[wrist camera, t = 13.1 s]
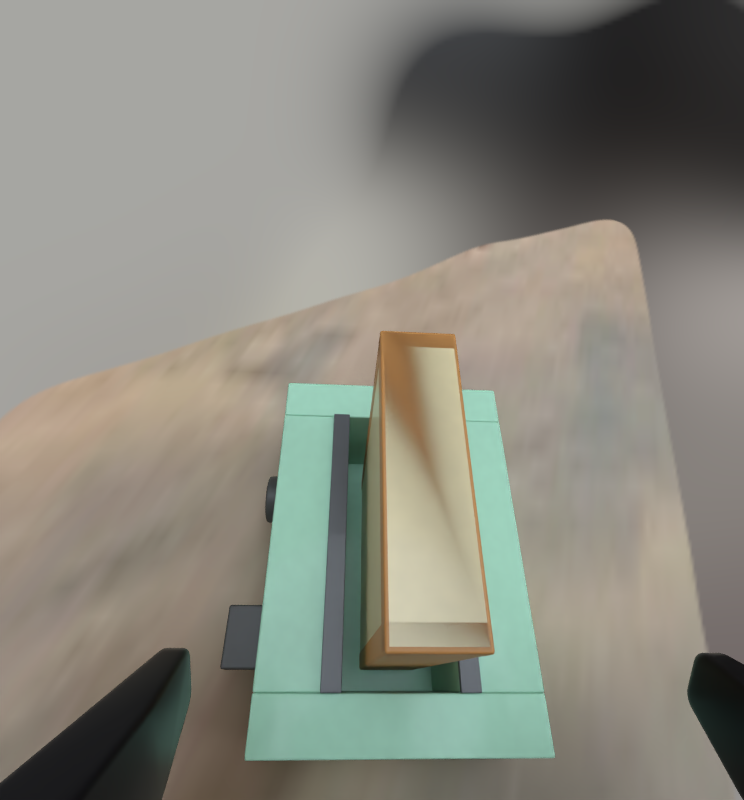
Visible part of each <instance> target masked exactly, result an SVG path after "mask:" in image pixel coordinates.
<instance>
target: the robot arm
mask: <svg viewBox="0 0 744 800" xmlns="http://www.w3.org/2000/svg"><path fill="white" fill-rule="evenodd" d="M687 694H688V700H689V703H690V705H691V707H692V709H693V711H694V713H695V715H696V716H697V718H698V720H699V722H700V724H701V726H702V727H703V729H704V731H705V733H706V735H707V736H708V738H709V740H710V742H711V744H712V745H713V747H714V749H715V751H716V753H717V754H718V756H719V758H720V760H721V762H722V763H723V765H724V767H725V769H726V771H727V772H728V774H729V776H730V778H731V780H732V781H733V783H734V785H735V787H736V789H737V790H738V792H739V794H740V796H741V797H742V799H743V800H744V664H742V663H740V662H738V661H736V660H734V659H733V658H731V657H729V656H727V655H725V654H721V653H700V654H698V655H697V656H696V657H695V660H694V664H693V668H692V672H691V676H690V680H689V685H688V689H687ZM190 697H191V671H190V654H189V651H188V650H187V649H185V648H165V649H162V650H161V651H159V652H158V653H157V654H156V655H154V656H153V657H152V658H151V659H149V660H148V661H147V662H146V663H145V664H143V665H142V666H141V667H140V668H139V669H137V670H136V671H135V672H134V673H133V674H131V675H130V676H129V677H128V678H127V679H125V680H124V681H123V682H122V683H120V684H119V685H118V686H117V687H116V688H114V689H113V690H112V691H111V692H110V693H108V694H107V695H106V696H105V697H104V698H102V699H101V700H100V701H99V702H98V703H96V704H95V705H94V706H93V707H91V708H90V709H89V710H88V711H87V712H85V713H84V714H83V715H82V716H81V717H79V718H78V719H77V720H76V721H75V722H73V723H72V724H71V725H70V726H68V727H67V728H66V729H65V730H64V731H62V732H61V733H60V734H59V735H58V736H56V737H55V738H54V739H53V740H52V741H50V742H49V743H48V744H47V745H46V746H44V747H43V748H42V749H41V750H39V751H38V752H37V753H36V754H35V755H33V756H32V757H31V758H30V759H29V760H27V761H26V762H25V763H24V764H23V765H21V766H20V767H19V768H18V769H17V770H15V771H14V772H13V773H12V774H10V775H9V776H8V777H7V778H6V779H4V780H3V781H2V782H1V783H0V800H162V797H163V794H164V790H165V787H166V783H167V780H168V776H169V773H170V769H171V766H172V762H173V759H174V755H175V752H176V748H177V745H178V741H179V738H180V734H181V731H182V727H183V724H184V720H185V717H186V713H187V710H188V706H189V702H190Z"/></svg>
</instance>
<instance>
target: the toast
mask: <svg viewBox="0 0 744 800" xmlns="http://www.w3.org/2000/svg"><path fill="white" fill-rule="evenodd" d="M361 490H362V525H361V610H360V654H359V668H360V670H414V669H419V668H424V667H430V666H435V665H440V664H445V663H450V662H456V661H461V660H466V659H471V658H476V657H482V656H488V655H493V654H494V652H495V649H494V641H493V633H492V625H491V617H490V610H489V602H488V594H487V586H486V578H485V570H484V562H483V554H482V546H481V538H480V530H479V522H478V514H477V506H476V498H475V490H474V482H473V474H472V466H471V458H470V450H469V442H468V434H467V426H466V418H465V410H464V402H463V394H462V386H461V378H460V371H459V363H458V355H457V347H456V339H455V335H454V334H438V333H416V332H393V331H381V332H380V339H379V347H378V355H377V363H376V371H375V379H374V387H373V394H372V402H371V410H370V418H369V426H368V434H367V442H366V450H365V457H364V465H363V473H362V489H361Z"/></svg>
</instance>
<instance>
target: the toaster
mask: <svg viewBox="0 0 744 800" xmlns="http://www.w3.org/2000/svg"><path fill="white" fill-rule="evenodd" d="M373 387H374V386H354V385H328V384H302V383H289V385H288V394H287V402H286V411H285V419H284V428H283V436H282V445H281V453H280V462H279V470H278V477H270V479H269V482H268V486H267V492H266V506H265V510H266V519H267V522H269V523H272V530H271V538H270V547H269V555H268V564H267V572H266V580H265V589H264V597H263V605H231V606H230V608H229V615H228V621H227V628H226V634H225V641H224V647H223V654H222V660H221V669H225V670H255V674H254V682H253V692H254V693H253V694H252V699H251V707H250V716H249V724H248V733H247V741H246V750H245V760H246V761H275V760H394V759H512V758H554V757H555V753H554V747H553V741H552V735H551V729H550V723H549V717H548V711H547V705H546V700H545V695H544V693H543V692H544V688H543V682H542V676H541V670H540V664H539V658H538V652H537V646H536V640H535V634H534V628H533V622H532V616H531V611H530V605H529V599H528V593H527V587H526V581H525V575H524V569H523V563H522V557H521V551H520V545H519V539H518V533H517V527H516V521H515V515H514V509H513V503H512V497H511V491H510V485H509V479H508V473H507V468H506V462H505V456H504V450H503V444H502V438H501V432H500V426H499V423H498V422H499V421H498V415H497V409H496V403H495V397H494V392H493V391H485V390H462V394H463V402H464V410H465V418H466V426H467V434H468V442H469V450H470V458H471V466H472V474H473V482H474V490H475V498H476V506H477V514H478V522H479V530H480V538H481V546H482V554H483V562H484V570H485V578H486V586H487V594H488V602H489V610H490V617H491V625H492V633H493V641H494V649H495V652H494V654H493V655H488V656H482V657H476V658H471V659H466V660H461V661H456V662H450V663H445V664H440V665H435V666H430V667H424V668H419V669H414V670H360V668H359V654H360V610H361V525H362V490H361V489H362V473H363V465H364V457H365V450H366V442H367V434H368V426H369V418H370V410H371V402H372V394H373Z"/></svg>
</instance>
